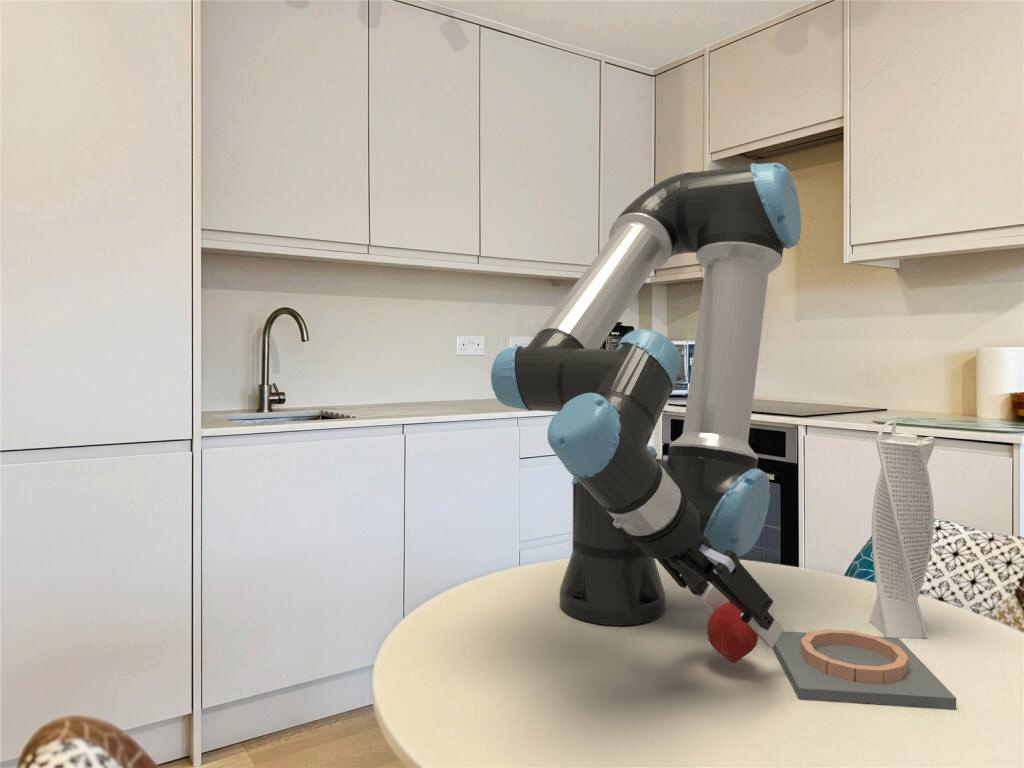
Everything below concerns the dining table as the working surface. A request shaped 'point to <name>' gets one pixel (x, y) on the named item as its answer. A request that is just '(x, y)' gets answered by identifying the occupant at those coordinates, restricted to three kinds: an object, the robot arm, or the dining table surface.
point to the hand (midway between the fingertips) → (753, 627)
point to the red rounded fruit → (730, 633)
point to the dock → (858, 670)
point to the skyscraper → (901, 533)
